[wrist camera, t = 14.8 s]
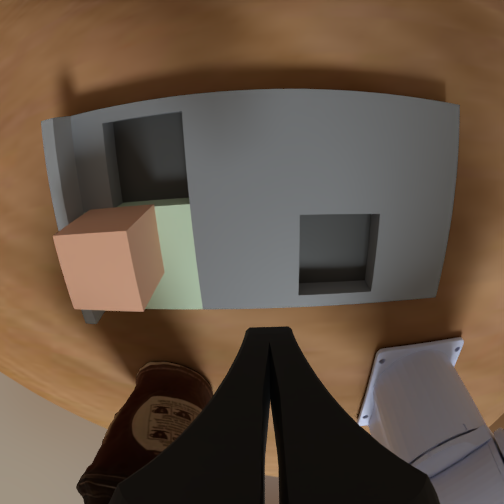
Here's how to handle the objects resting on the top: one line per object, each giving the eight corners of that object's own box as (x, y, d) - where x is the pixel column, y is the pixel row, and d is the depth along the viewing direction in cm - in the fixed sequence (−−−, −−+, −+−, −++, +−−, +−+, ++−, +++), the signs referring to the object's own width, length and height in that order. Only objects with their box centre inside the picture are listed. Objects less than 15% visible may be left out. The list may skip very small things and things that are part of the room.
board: (426, 285, 20) (447, 312, 17) (105, 295, 21) (85, 323, 18) (446, 104, 15) (477, 106, 12) (72, 117, 16) (41, 121, 13)
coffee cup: (163, 328, 22) (103, 496, 10) (249, 388, 24) (244, 544, 12) (109, 380, 24) (55, 507, 12) (184, 427, 27) (161, 551, 15)
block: (164, 272, 18) (143, 311, 14) (103, 273, 18) (74, 309, 15) (154, 204, 16) (126, 231, 13) (89, 209, 17) (52, 235, 13)
